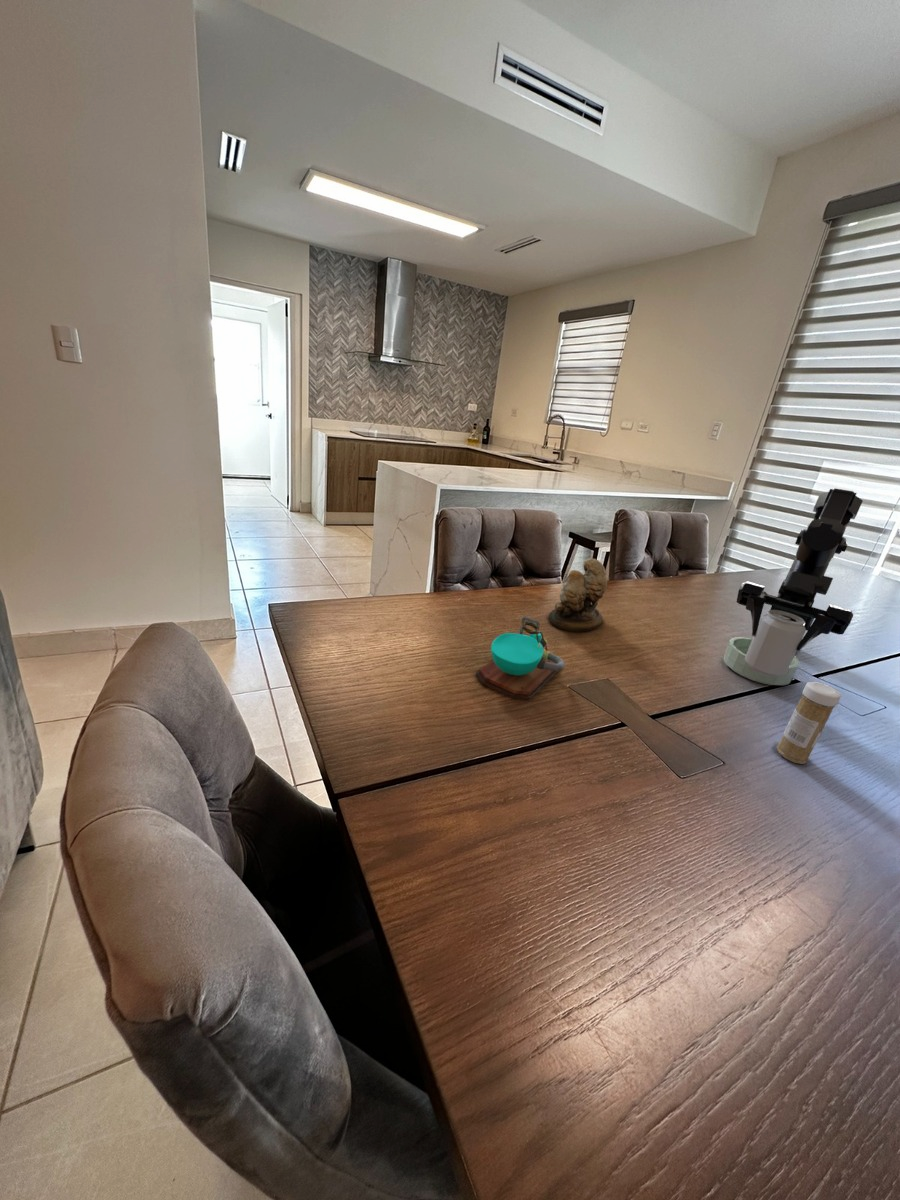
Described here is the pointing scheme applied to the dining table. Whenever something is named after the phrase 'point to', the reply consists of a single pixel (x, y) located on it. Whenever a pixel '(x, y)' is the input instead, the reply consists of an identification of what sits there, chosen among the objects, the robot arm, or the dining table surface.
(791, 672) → the basin
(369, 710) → the dining table surface
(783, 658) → the can
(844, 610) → the robot arm
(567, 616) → the owl figurine
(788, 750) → the sprinkles bottle
